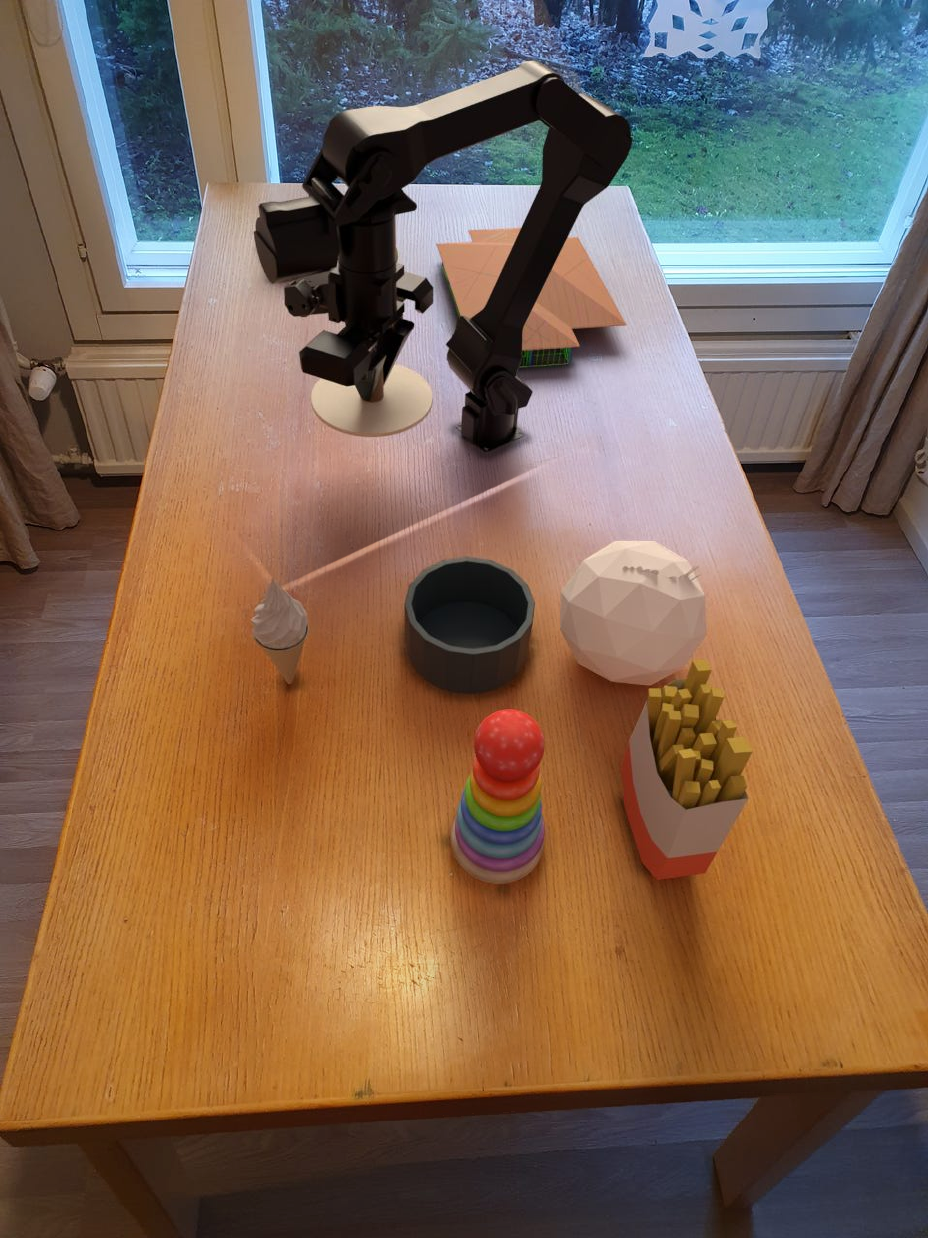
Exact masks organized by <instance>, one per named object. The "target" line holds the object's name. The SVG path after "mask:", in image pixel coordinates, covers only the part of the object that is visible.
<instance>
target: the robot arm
mask: <svg viewBox="0 0 928 1238" xmlns="http://www.w3.org/2000/svg"><path fill="white" fill-rule="evenodd" d="M538 121H539V122H541V123H542V124H543V125H545V126H546V127H547V128H548V130H547V133H546V137H545V140H544V143H543V146H542V160H541V162H542V165H541V166H542V167H541V183H540V186H539V188H538V190H537V192H536V194H535V197H534V199H533V201H532V204H531V205H530V208H529V210H528V212H527V214H526V216H525V218H524V221H523V223H522V225H521V227H520V228H521V229H520V232H519V234H518V236H517V238H516V240H515V242H514V245H513V247H512V249H511V251H510V253H509V256H508V258H507V260H506V262H505V264H504V266H503V269H502V271H501V273H500V275H499V277H498V279H497V282H496V284H495V286H494V288H493V290H492V293H491V295H490V297H489V299H488V301H487V303H486V305H485V307H484V309H482V310H481V311H480V312H478V313H477V314H476V315H474V316H473V317H471V318H470V319H469V318H467V317H465V316H461V317H460V318H459V317H458V319H457V321H456V323H455V324H456V325H455V328H454V330H453V333H452V335H451V337H450V338H449V339H448V341H447V342H446V343H445V346H446V347H447V353H446V361H447V364H448V366H449V369H450V370H451V371H452V372H453V374H454V375H456V377H457V378H458V379H459V380H460V381H461V382H462V383H463V384H464V385H465V387H466V388H467V389H468V390H469V391H468V392H466V393H465V394H464V406H462V408H461V421H460V422H459V423H457V424H455V429H457V430H458V431H459V432H460V435H461V436H462V437H464V438H465V440H467V441H468V442H469V443H470V444H472V445H475V446H476V447H477V448H479V450H481V451H482V452H483V453H489V452H491V451H493V450H496V449H499V448H500V447H503V446H505V445H507V444H509V443H511V442H515V441H516V440H518V439H520V438H523V437H524V436H525V433H524V431H522V430H521V429H520V428H519V427H518V417H519V411H520V409H523V408H526V407H527V406H528V404H529V402H530V400H531V397H532V395H533V390H532V389H531V387H529V386H528V385H527V383H525V381H524V380H522V378H521V377H519V376H518V375H517V374H518V371H519V368H520V367H521V363H522V360H523V357H522V356H523V351H522V336H523V328H524V325H525V323H526V321H527V319H528V317H529V315H530V313H531V311H532V309H533V307H534V305H535V303H536V301H537V299H538V297H539V295H540V292H541V290H542V288H543V286H544V284H545V282H546V280H547V278H548V276H549V274H550V272H551V270H552V268H553V266H554V264H555V262H556V260H557V258H558V256H559V254H560V252H561V250H562V248H563V246H564V244H565V242H566V240H567V238H568V237H569V236H570V234H571V232H572V230H573V228H574V225H575V224H576V221H577V219H578V217H579V215H580V213H581V211H582V209H583V207H584V206H585V205H586V204H587V203H589V202H590V201H591V200H593V199H594V198H595V197H598V195H600V194H601V193H602V192H604V191H605V190H606V189H607V188H608V187H609V186H610V184H611V183H612V182H613V180H614V178H615V177H616V175H617V174H618V173H619V171H620V169H622V166H623V164H625V162H626V160H627V158H628V156H629V154H630V151H631V149H632V147H633V141H634V138H633V137H632V129H631V124H630V122H629V121H628V119H626V118H625V117H624V116H623V115H621V114H620V113H618V112H617V111H615V110H613V109H612V108H610V107H609V106H607V105H606V104H604V103H603V102H600V100H598V99H596V98H595V97H593V96H592V95H590V94H587V93H583V92H582V93H578V92H576V91H575V90H574V89H573V88H572V87H570V85H569V84H567V83H566V82H565V80H564V78H563V77H562V76H561V74H559V73H557V72H556V71H555V70H553V69H551V68H549V66H548V67H547V65H545V64H543V63H542V62H541V61H537V60H534V59H533V60H527V61H523V62H521V63H519V64H518V65H517V66H516V67H515V68H514V69H511V70H508V71H505V72H503V73H499V74H497V75H494V76H492V77H490V78H486V79H483V80H481V81H478V82H475V83H472V84H469V85H467V86H464V87H462V88H459V89H456V90H453V91H451V92H448V93H445V94H442V95H439V96H437V97H434V98H431V99H429V100H426V101H424V102H421V103H418V104H415V105H409V106H402V107H401V106H389V105H388V106H386V105H385V106H384V105H373V106H366V107H359V108H354V109H347V110H343V111H341V112H340V113H338V114H336V115H335V116H333V117H332V118H331V119H330V120H329V122H328V126H327V128H326V130H325V132H324V134H323V139H322V144H321V148H320V150H319V152H318V154H317V156H316V158H315V160H314V161H313V163H312V165H311V167H310V169H309V171H308V173H307V174H306V177H305V178H304V180H303V182H302V185H301V188H302V189H303V191H305V193H306V194H307V195H308V196H305V197H299V198H294V199H289V200H285V201H273V200H272V201H266V202H261V203H259V205H258V213H259V214H258V215H259V217H257V218H256V220H255V230H254V231H253V239H254V244H255V249H256V252H257V256H258V259H259V262H260V266H261V269H262V270H263V273H264V275H265V276H266V278H267V280H268V281H269V282H270V283H271V284H278V283H282V282H286V281H290V282H289V283H287V285H286V286H284V289H283V290H284V291H283V292H284V293H283V295H284V297H283V300H284V307H286V309H287V311H288V313H289V315H291V316H292V317H295V318H296V317H297V318H298V317H300V318H307V317H309V316H313V315H315V316H316V315H326V314H328V316H327V318H328V321H329V322H333V323H336V324H341V322H342V323H344V325H345V326H344V327H343V328H341V330H339V332H337V333H335V332H331V331H328V330H325V329H323V330H322V331H321V332H319V333H317V335H316V336H314V337H313V338H312V339H311V340H310V341H309V342H308V343H307V344H306V345H305V346H304V347H303V348H301V349H300V350H299V352H298V355H299V366H300V370H301V372H302V373H304V374H306V375H309V376H312V377H316V378H318V379H320V378H322V379H325V380H328V381H331V382H334V383H337V384H340V385H343V386H346V387H348V386H354V385H355V387H356V389H357V391H358V393H359V395H360V397H361V399H363V400H366V401H370V400H371V399H372V396H373V394H374V391H375V388H376V385H377V382H378V379H379V376H380V373H381V370H382V367H383V385H385V382H386V380H387V378H388V376H389V374H390V372H391V370H392V368H393V366H394V364H396V363H397V360H398V358H399V356H400V354H401V352H402V350H403V348H404V346H405V345H406V342H407V340H408V338H409V336H410V334H411V333H412V331H413V330H414V328H415V323H414V321H412V320H409V319H405V318H404V313H405V312H406V311H405V309H406V307H405V306H406V305H405V301H406V300H409V301H412V302H414V310H415V312H416V313H418V314H422V315H423V314H424V313H425V312H427V310H428V309H429V308H430V307H431V306H432V305H433V304H434V286H433V285H432V284H431V282H430V281H429V279H428V278H427V277H426V276H421V275H419V274H414V273H411V272H407V271H405V264H402V263H398V262H397V263H396V248H397V229H396V228H397V227H396V226H397V225H396V224H397V223H396V219H397V218H396V217H397V215H402V214H406V213H411V212H415V211H417V208H418V204H417V203H416V201H414V200H413V199H412V198H411V197H410V196H409V195H408V194H407V193H406V192H405V191H404V188H405V187H408V186H409V185H411V184H412V183H414V182H415V181H416V179H417V178H418V177H419V176H420V174H421V173H422V172H423V170H424V169H425V168H426V167H427V166H428V165H430V164H431V163H433V162H435V161H436V160H438V159H441V158H444V157H446V156H449V155H451V154H454V153H458V152H459V151H462V150H464V149H467V148H470V147H472V146H475V145H478V144H480V143H483V142H485V141H488V140H491V139H493V138H496V137H499V136H501V135H504V134H506V133H509V132H511V131H514V130H517V129H520V128H523V127H525V126H527V125H530V124H533V123H535V122H538ZM336 179H339V180H340V181H341V182H342V183H343V184H344V185H345V186H346V187H347V190H346V191H345V193H344V194H343V193H342V192H341V190H339V188H338V187H337V186H335V185H334V182H335V180H336ZM459 426H460V427H459ZM486 449H487V450H486Z"/></svg>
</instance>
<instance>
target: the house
mask: <svg viewBox="0 0 928 1238" xmlns="http://www.w3.org/2000/svg"><path fill="white" fill-rule="evenodd" d="M520 229H521V227H509V228H507V227H505V228H487V229H485V228H484V229H483V228H482V229H468V234H469V237H470V239H471V241H463V242H461V241H460V242H441V243H436V244H435V245H436V248H437V250H438V254H439V257H440V259H441V260H440V261H441V267H442V271H443V273H444V277H445V280H446V282H447V285H448V288H449V292H450V294H451V298H452V300H453V304H454V307H455V309H456V312H457V315H458V319H459V318H460V317H461V316H465V317H467V318H469V319H470V318H471V317H473V316H474V315H476V314H477V313H478V312H480V311H481V310H482V309H484V307H485V305H486V303H487V301H488V299H489V297H490V295H491V293H492V290H493V288H494V286H495V284H496V282H497V279H498V277H499V275H500V273H501V271H502V269H503V266H504V264H505V262H506V260H507V258H508V256H509V253H510V251H511V249H512V247H513V245H514V242H515V240H516V238H517V236H518V234H519V232H520ZM624 326H628V325H627V322H626V321H625V319H624V317H623V315H622V313H621V311H620V310H619V308H618V307H617V305H616V303H615V300H614V299H613V297H612V295H611V294H610V291H609V290H608V288H607V287H606V285H605V283H604V281H603V279H602V277H601V276H600V274H599V272H598V271H597V268H596V267H595V264H594V263H593V261H592V260H591V257H590V256H589V254H588V252H587V250H586V249H585V247H584V245H583V243H582V241H581V239H580V238H579V236H570V237H569V236H568V238H567V240H566V242H565V244H564V246H563V248H562V250H561V252H560V254H559V256H558V258H557V260H556V262H555V264H554V266H553V268H552V270H551V272H550V274H549V276H548V278H547V280H546V282H545V284H544V286H543V288H542V290H541V292H540V295H539V297H538V299H537V301H536V303H535V305H534V307H533V309H532V311H531V313H530V315H529V317H528V319H527V321H526V323H525V325H524V328H523V336H522V353H523V355H522V358H525V359H526V361H525V360H523V361H522V362H523V363H522V366H521V365H520V368H530V367H533V365H532V359H533V356H534V357H535V356H536V359H538V357H539V356H541V354H539V352H537V353H536V354H533V351H540V350H541V351H542V350H543V351H542V356H547V355H548V356H547V360H549V358H550V356H553V357H555V356H556V355H559V357H558V361H560V360H561V355H564V358H565V359H564V361H563V365H570V361H571V355H572V349H573V348H580V347H581V345H580V343H579V341H578V339H577V337H576V335H575V333H574V331H573V330H577V329H578V330H579V329H593V328H605V327H607V328H608V327H624ZM557 349H560V350H559V352H557V353H556V351H554V353H550V350H557ZM545 350H548V353H544V352H545ZM543 362H544V357H542V359H541V363H543ZM566 362H567V363H566ZM525 363H526V364H525ZM524 364H525V365H524ZM559 365H562V363H560V362H558V363H555V358H553V360H552V363H550V364H549V361H547V363H546V364H538V360H536V362H535V365H534V367H545V366H559Z"/></svg>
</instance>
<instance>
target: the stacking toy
mask: <svg viewBox="0 0 928 1238" xmlns="http://www.w3.org/2000/svg"><path fill="white" fill-rule="evenodd" d="M545 744H546V742H545V737H544V733H543V731H542V729H541V727H540V726H539V724H538V722H537V721H536V720H535V719H534V718H533V717H532V716H530V715H529V714H527V713H525V712H524V711H521V710H517V709H513V708H511V709H508V708H507V709H501V710H496V711H494V712H493V713H491V714H489V715H488V716H486V717H485V718H484V719H483V720H482V722H480V724H479V725H478V727H477V729H476V731H475V735H474V738H473V750H474V757H473V761H472V769H471V771H470V774H469V776H468V777H467V780H466V781H465V784H464V788H463V790H462V793H461V797H460V800H459V802H458V806H457V812H456V816H455V818H454V820H453V821H452V824H451V828H450V835H449V837H450V838H449V841H450V847H451V850H452V851H451V852H452V853H453V856H454V858H455V860H456V861H457V864H458V865H459V866H460V867H461V868H462V869H463V870H464V871H465V872H466V873H467V874H468V875H470V876H471V877H473V878H475V879H476V880H479V881H480V882H483V883H488V884H495V885H504V884H505V885H506V884H511V883H514V882H517V881H519V880H521V879H524V878H525V877H526V876H528V875H529V874H530V873H531V872H532V871H533V870H534V869H535V868H536V867H537V865H538V864H539V862H540V860H541V858H542V855H543V853H544V850H545V836H546V824H545V820H544V816H543V804H542V788H543V782H542V775H541V766H540V764H541V761H542V760H543V757H544V754H545V746H546V745H545Z"/></svg>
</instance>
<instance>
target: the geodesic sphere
mask: <svg viewBox="0 0 928 1238" xmlns="http://www.w3.org/2000/svg"><path fill="white" fill-rule="evenodd" d="M697 569H698V567H694V568H693V567H692V565H691V564H690V561H689V560H688V559H685V558H684V557H682V556H681V555H679V554H677V553H675V552H674V551H672V550H670V549H669V548H667V547H665V546H664V545H662V544H660V543H659V542H657V541H655V540H614V541H613V542H611V543H610V544H607V545H606V546H604V547H603V548H601V549H600V550H598V551H596V552H595V553H593V554H591V555H590V556H588V557H586V558H585V559H583V560H582V561H581V563H580V564H579V565H578V566H577V568H576V570H575V571H574V573H573V574H572V576H571V577H570V578H569V580H568V581H567V582H566V584H565V585H564V587H563V588H562V589H561V591H560V615H559V616H560V617H559V631H560V633H561V635H562V636H563V638H564V640H565V641H566V644H567V645H568V647H569V649H570V651H571V653H572V655H573V656H574V659H575V661H576V662H577V664H578V665H579V666H582V667H584V668H585V669H587V670H589V671H591V672H593V673H595V674H597V676H600V677H602V678H603V679H605V680H607V681H609V682H611V683H618V684H619V683H620V684H628V685H629V684H631V685H641V686H649V687H650V686H652V685H654V684H656V683H658V682H659V681H661V680H664V679H666V678H668V677H670V676H671V675H674V674H675V673H677V672H679V671H681V670H682V669H684V668H686V666H687V665H688V664H689V662H690V661H691V659H692V657H693V656H694V654H695V653H696V651H697V650H698V649H699V647H700V645H701V643H702V642H703V640H705V637H706V636H707V614H706V613H707V607H706V595H705V593H704V590H703V589H702V587H701V585H700V581H699V580H698V577H700V576H701V575H702V573H700V574H698V575H696V574H695V571H696V570H697Z"/></svg>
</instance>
